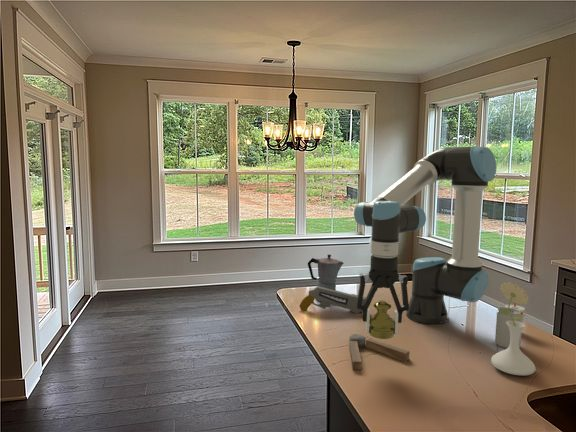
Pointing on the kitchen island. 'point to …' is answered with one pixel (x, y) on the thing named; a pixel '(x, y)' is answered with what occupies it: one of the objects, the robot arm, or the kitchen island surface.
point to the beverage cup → (516, 307)
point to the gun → (331, 299)
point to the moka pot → (326, 271)
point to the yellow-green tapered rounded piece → (381, 322)
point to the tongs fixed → (356, 349)
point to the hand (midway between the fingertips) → (381, 332)
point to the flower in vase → (513, 337)
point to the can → (505, 327)
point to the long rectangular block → (387, 349)
